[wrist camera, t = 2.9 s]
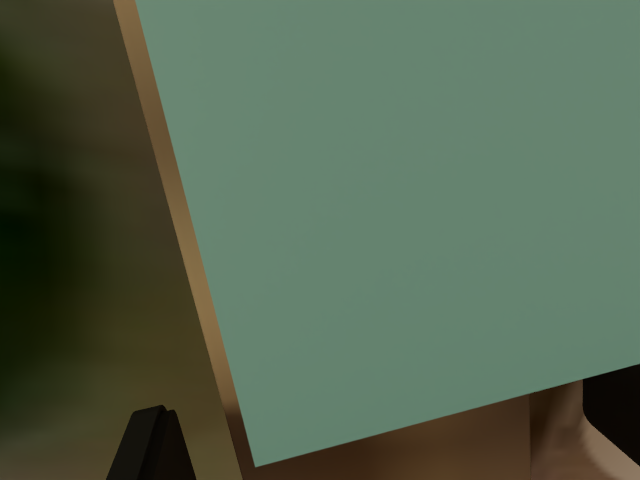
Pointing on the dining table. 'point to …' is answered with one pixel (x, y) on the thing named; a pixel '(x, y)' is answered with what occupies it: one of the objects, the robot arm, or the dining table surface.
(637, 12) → the teal cube
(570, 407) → the dining table surface
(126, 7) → the brown wooden block
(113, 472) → the robot arm
